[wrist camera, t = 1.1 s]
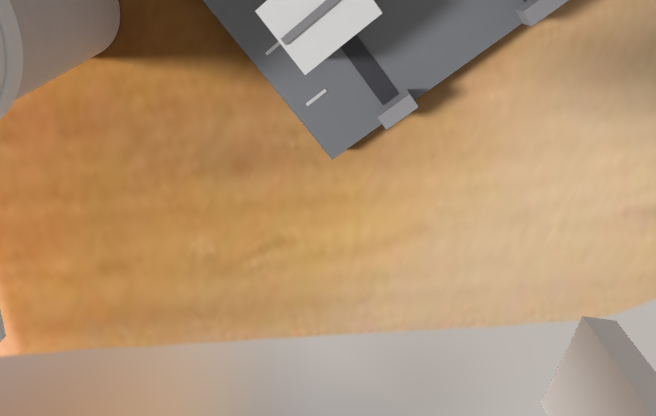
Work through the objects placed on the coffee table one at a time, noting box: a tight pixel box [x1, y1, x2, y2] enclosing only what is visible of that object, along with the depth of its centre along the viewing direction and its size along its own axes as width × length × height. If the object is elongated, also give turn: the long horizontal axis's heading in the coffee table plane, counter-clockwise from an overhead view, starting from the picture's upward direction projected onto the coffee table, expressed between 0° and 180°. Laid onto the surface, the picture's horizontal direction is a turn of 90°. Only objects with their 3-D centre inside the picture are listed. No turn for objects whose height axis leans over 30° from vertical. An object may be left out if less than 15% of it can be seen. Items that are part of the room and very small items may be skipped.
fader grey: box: [255, 0, 382, 75], centre depth 26 cm, size 4×5×5 cm
